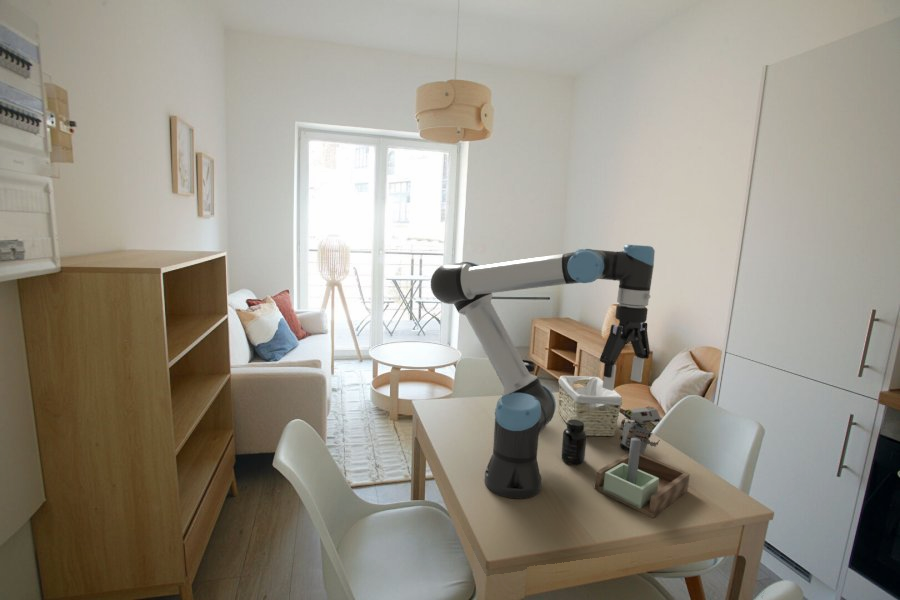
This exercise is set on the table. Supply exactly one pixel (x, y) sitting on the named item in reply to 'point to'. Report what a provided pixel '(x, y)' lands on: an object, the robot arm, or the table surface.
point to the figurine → (638, 427)
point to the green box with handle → (631, 480)
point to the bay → (669, 484)
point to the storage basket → (589, 404)
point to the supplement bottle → (574, 443)
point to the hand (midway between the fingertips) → (622, 384)
